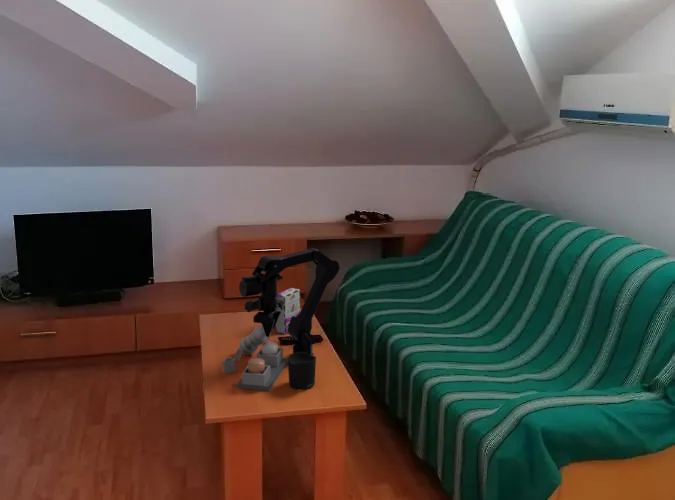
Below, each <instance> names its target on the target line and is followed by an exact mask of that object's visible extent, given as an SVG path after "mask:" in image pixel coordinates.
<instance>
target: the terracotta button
mask: <svg viewBox="0 0 675 500" xmlns="http://www.w3.org/2000/svg"><path fill="white" fill-rule="evenodd" d="M247 366H248V373H256V374H263V373H264V372H265V361H264V360H263V359H260V358H257V357H255V358H251V359H249V360H248V361H247Z"/></svg>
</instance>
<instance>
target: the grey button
mask: <svg viewBox="0 0 675 500" xmlns="http://www.w3.org/2000/svg"><path fill="white" fill-rule="evenodd" d="M278 346H279V345H278V343H277V342H273V341H270V342H269V341H267V342H265V343H263V344H261V348H262V354H264V355H275V356H276V355H277V353H278V348H279V347H278Z"/></svg>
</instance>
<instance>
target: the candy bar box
mask: <svg viewBox="0 0 675 500" xmlns="http://www.w3.org/2000/svg"><path fill="white" fill-rule="evenodd" d="M277 294H279V297H278V298H277V300H281V301H283V302H284V309H283V310H281V309H280V308H278V309H277V311H281V314H280V316H279V319H278V321H277V323H276V326H275V328H276V333H278V334H282V335H283V334H284V335H287V334H289V333H288V327H289V326H288V324H289V323H290V321H291V318H292V316H294V317H296V316H298V315H299V314H300V312H301V289H298V288H294V287H289V288H288V289H285V290H283V291H281V292H277Z"/></svg>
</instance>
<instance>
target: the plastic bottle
mask: <svg viewBox="0 0 675 500" xmlns="http://www.w3.org/2000/svg"><path fill="white" fill-rule="evenodd" d="M272 333H273V332H272V330H271V333H270V336H269V337H266V334H265V331H264V328H263V325H262V324H261V325H256V326H255V327H254V328H253V330H252V332H250V334H248V335H247V336H245V337H243V338H242V339H241V340H240V342H239V348H241V349H243V352H242V354H243V353H244V354H245V355H252V354H254V353H255V352H256V351H257V350H258V348H259V347H260V346H262V344H264V343H267V342H269V340H270V337H271V334H272Z"/></svg>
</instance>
